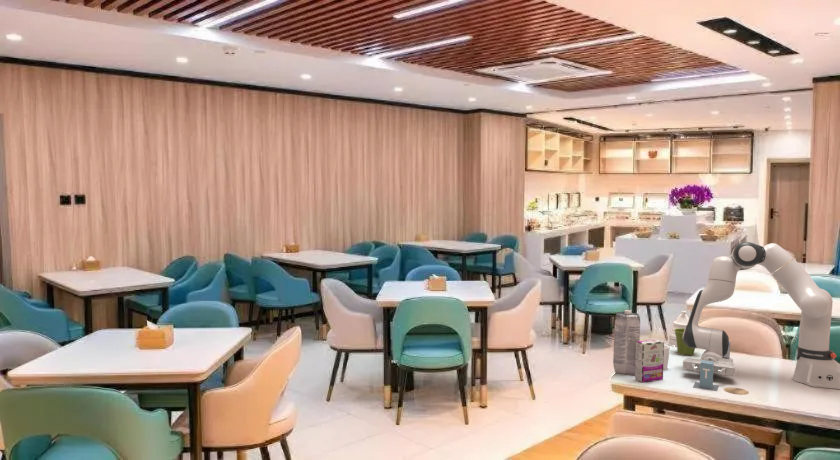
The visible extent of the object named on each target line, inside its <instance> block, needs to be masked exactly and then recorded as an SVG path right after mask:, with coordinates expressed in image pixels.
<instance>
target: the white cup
mask: <svg viewBox="0 0 840 460" xmlns="http://www.w3.org/2000/svg"><path fill="white" fill-rule="evenodd" d="M669 357H670V346H668V345H665V344H664V359H663V371H665V370H668V364H669V360H670V359H669Z"/></svg>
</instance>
